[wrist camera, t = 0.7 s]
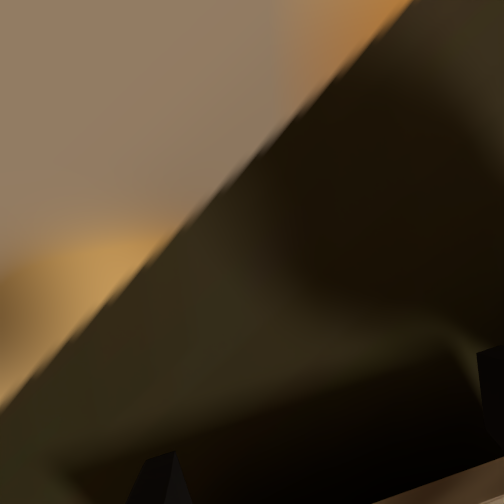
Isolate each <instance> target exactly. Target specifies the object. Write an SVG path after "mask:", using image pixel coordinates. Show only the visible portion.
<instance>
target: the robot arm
mask: <svg viewBox="0 0 504 504" xmlns="http://www.w3.org/2000/svg"><path fill="white" fill-rule="evenodd" d="M476 354H477V363H478V371H479V380H480V389H481V398H482V406H483V415H484V424H485V429H486V431H487V432H488V433H489V434H490V435H491V437H492V438H493V439H494V440H495V441H496V443H497V444H498V445H499V446H500V447H501V449H502V450H503V451H504V346H502V345H500V346H497V347H494V348H491V349H487V350H484V351H481V352H478V353H476ZM125 504H193V503H192V500H191V497H190V494H189V491H188V488H187V485H186V482H185V479H184V476H183V473H182V470H181V467H180V464H179V461H178V458H177V455H176V452H175V451H173V452H170V453H167V454H164V455H161V456H158V457H154V458H151V459H148V460H146V462H145V463H144V465H143V467H142V469H141V471H140V473H139V475H138V478H137V480H136V482H135V484H134V486H133V488H132V490H131V493H130V495H129V497H128V499H127V501H126V503H125Z"/></svg>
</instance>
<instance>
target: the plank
mask: <svg viewBox="0 0 504 504" xmlns="http://www.w3.org/2000/svg"><path fill="white" fill-rule="evenodd" d="M373 504H504V457H502V458H499V459H496V460H493V461H491V462H488V463H485V464H482V465H479V466H477V467H474V468H471V469H468V470H465V471H463V472H460V473H457V474H454V475H451V476H449V477H446V478H443V479H440V480H437V481H435V482H432V483H429V484H426V485H423V486H420V487H418V488H415V489H412V490H409V491H406V492H404V493H401V494H398V495H395V496H392V497H390V498H387V499H384V500H381V501H378V502H376V503H373Z"/></svg>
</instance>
